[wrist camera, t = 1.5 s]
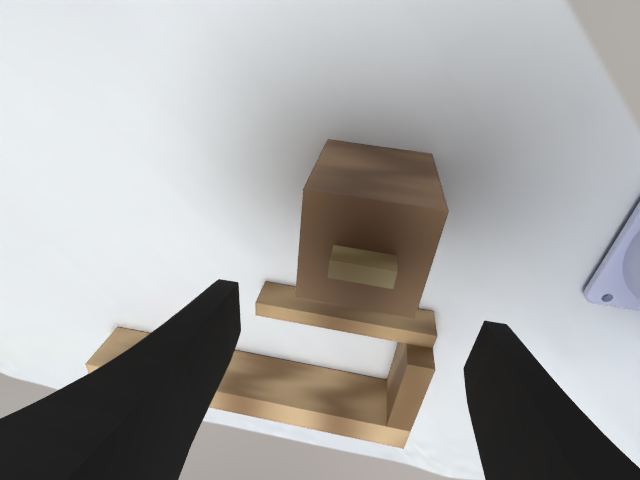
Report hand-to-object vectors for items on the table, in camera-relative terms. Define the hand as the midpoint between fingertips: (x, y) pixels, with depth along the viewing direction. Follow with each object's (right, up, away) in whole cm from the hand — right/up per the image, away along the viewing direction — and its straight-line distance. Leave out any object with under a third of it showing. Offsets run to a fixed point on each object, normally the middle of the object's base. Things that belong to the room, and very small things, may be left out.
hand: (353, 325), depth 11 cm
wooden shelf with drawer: (-5, -4, +15) cm, 16 cm away
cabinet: (+2, +5, +8) cm, 10 cm away
